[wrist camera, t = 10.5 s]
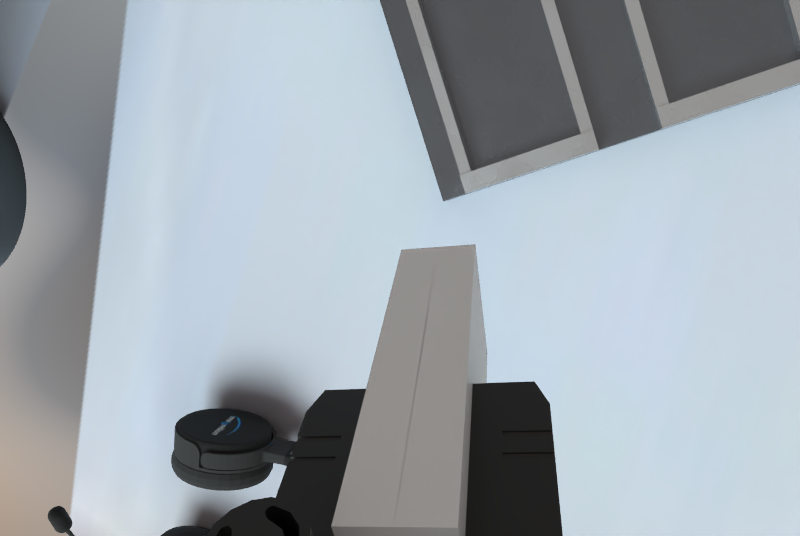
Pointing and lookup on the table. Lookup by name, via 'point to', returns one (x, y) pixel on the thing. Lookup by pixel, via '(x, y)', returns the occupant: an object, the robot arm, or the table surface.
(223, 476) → the headset
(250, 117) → the table surface
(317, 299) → the table surface
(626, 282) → the table surface
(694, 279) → the table surface
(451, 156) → the grey board
